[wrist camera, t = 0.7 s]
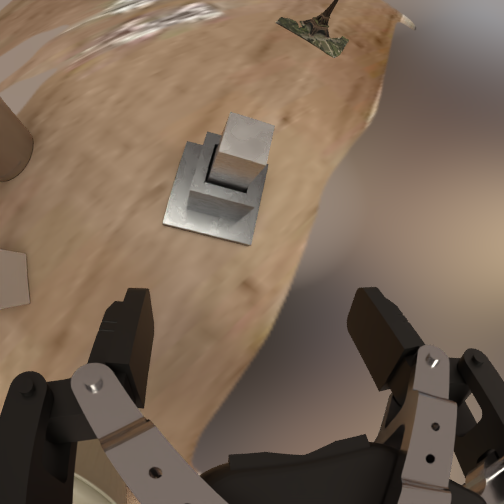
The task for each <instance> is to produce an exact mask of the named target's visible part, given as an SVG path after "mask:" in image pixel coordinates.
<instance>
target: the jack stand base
mask: <svg viewBox="0 0 504 504" xmlns="http://www.w3.org/2000/svg"><path fill="white" fill-rule="evenodd" d="M220 138H221V135H218V134H214V133H211V132H207V134H206V137H205V141H204V144H203V145H200V144H196V143H192V142H188V141H187V143H186V146H185V149H184V152H183V155H182V158H181V162H180V165H179V168H178V171H177V174H176V178H175V181H174V184H173V188H172V191H171V195H170V198H169V202H168V205H167V209H166V213H165V216H164V220H163V225H165V226H169V227H173V228H177V229H181V230H185V231H189V232H193V233H198V234H202V235H206V236H210V237H214V238H218V239H222V240H226V241H230V242H234V243H238V244H242V245H246V246H250V245H251V243H252V238H253V234H254V229H255V224H256V220H257V215H258V210H259V206H260V201H261V196H262V192H263V187H264V182H265V178H266V173H267V168H268V164H266V166H265V167H264V168H263V170H262V171H261V172H260V173H259V174H258V175H257V176H256V178H255V179H254V180H253V181H252V182H251V183H250V185H249V186H248V187H247V188H246V189H245V190H244V192H243V193H242V192H239V191H235V190H232V189H228V188H224V187H221V186H217V185H213V184H209V183H206V182H205V180H206V177H207V173H208V170H209V167H210V165H211V162H212V159H213V156H214V154H215V151H216V148H217V146H218V143H219V140H220Z"/></svg>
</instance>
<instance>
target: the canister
mask: <svg viewBox="0 0 504 504" xmlns="http://www.w3.org/2000/svg"><path fill="white" fill-rule="evenodd" d="M100 444H101V443H100V441H99V440H98V439H92V440H85V441H78V444H77V452H76V461H75V472H74V485H73V504H127V495H126V483H125V482H124V481H123V479H122V478H121V476H120V475H119V473H118V472H117V470H116V469H115V467H114V466H113V464H112V463H111V461H110V460H109V458H108V457H107V455H106V454H105V452H104V450H103V449H102V447H101V445H100Z"/></svg>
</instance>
